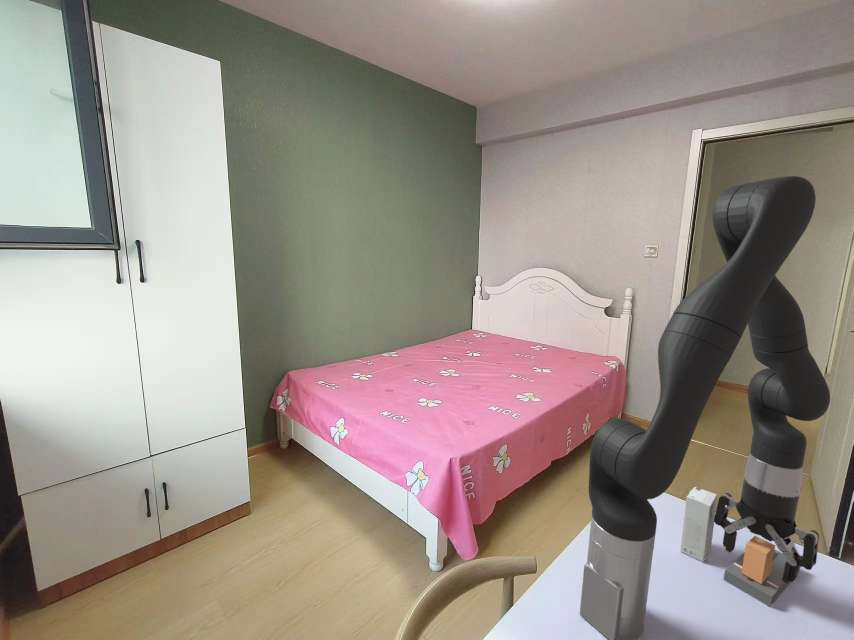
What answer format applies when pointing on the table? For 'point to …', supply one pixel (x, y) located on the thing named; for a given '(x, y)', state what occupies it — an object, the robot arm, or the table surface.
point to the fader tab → (758, 559)
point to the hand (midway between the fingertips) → (757, 564)
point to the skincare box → (698, 523)
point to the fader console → (761, 592)
